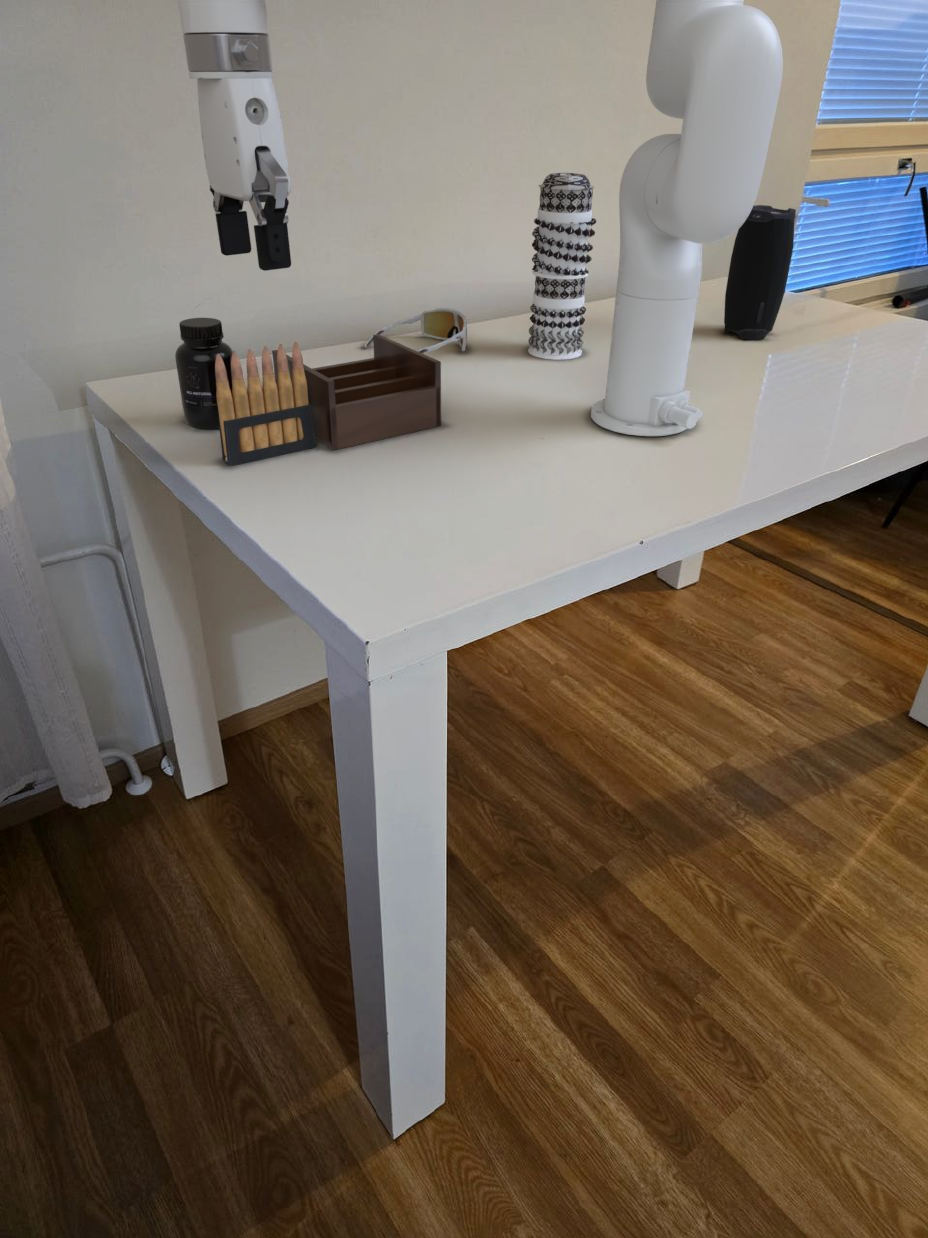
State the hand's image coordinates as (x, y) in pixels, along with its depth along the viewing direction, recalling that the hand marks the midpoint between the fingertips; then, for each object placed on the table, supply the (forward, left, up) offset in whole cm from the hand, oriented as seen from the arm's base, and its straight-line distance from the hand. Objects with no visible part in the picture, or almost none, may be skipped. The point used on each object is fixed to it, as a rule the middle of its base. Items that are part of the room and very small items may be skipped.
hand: (255, 260), depth 86 cm
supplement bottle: (+14, +2, -21) cm, 25 cm away
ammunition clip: (0, +1, -21) cm, 21 cm away
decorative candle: (+15, -54, -21) cm, 60 cm away
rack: (+4, -13, -21) cm, 25 cm away
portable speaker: (+6, -89, -21) cm, 92 cm away
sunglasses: (+28, -37, -21) cm, 51 cm away
